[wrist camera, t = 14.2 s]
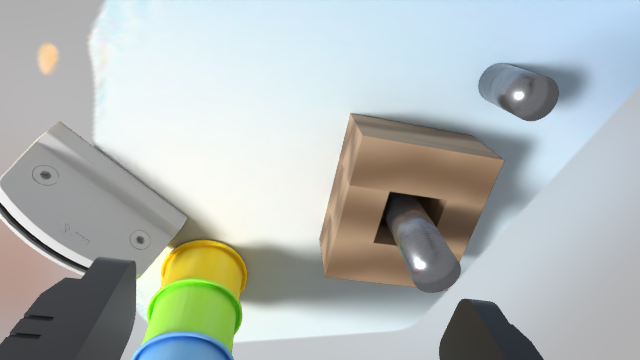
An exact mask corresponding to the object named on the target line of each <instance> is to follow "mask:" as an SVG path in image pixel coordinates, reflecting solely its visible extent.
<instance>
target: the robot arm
mask: <svg viewBox="0 0 640 360" xmlns="http://www.w3.org/2000/svg"><path fill="white" fill-rule="evenodd" d="M135 312H136V262H135V261H134V260H125V259H116V258H107V257H97V258H96V259H95V260H94V261H93V263H92V264H91V266H90V267H89V268H88V270H87V271H86V273H85V274H84V276H83V277H82V279H75V278H64V279H63V280H61V281H60V282H58V283H57V284H55V285H54V286H52V287H51V288H49V289H48V290H46V291H45V292H43V293H42V294H41V295H40V296H39V297H38V298H37V299H36V301H35V302H34V303H33V305H32V306H31V307H30V308H29V310H28V311H27V312H26V313H25V315H24V318H23V319H21V320H20V321H19V322H18V323H17V324H16V326H15V327H14V328H13V329H12V331H11V332H10V336H9V337H6V338H5V339H4V341H3V342H2V343H1V344H0V360H120V358H121V356H122V354H123V351H124V349H125V347H126V345H127V343H128V340H129V338H130V335H131V332H132V329H133V325H134V320H135ZM439 356H440V360H544V359H543V358H542V356H541V355H540V354H539V352H538V351H537V349H536V348H535V346H534V345H533V344H532V342H531V341H530V340H529V339H528V338H527V337H526V336H524V335H523V334H522V333H521V332H520V331H519V330H518V329H517V328H516V327H515V326H514V325H511V324H510V323H509V322H508V320H507V319H506V318H505V316H504V315H503V313H502V312H501V310H500V309H499V307H498V306H497V305H496V304H495V303H493V302H490V301H481V300H472V299H462V300H461V301H460V302H459V303H458V305H457V307H456V309H455V311H454V314H453V316H452V318H451V320H450V322H449V324H448V326H447V328H446V330H445V333H444V335H443V337H442V339H441V342H440V347H439Z"/></svg>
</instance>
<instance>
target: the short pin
mask: <svg viewBox="0 0 640 360" xmlns="http://www.w3.org/2000/svg"><path fill="white" fill-rule="evenodd" d="M479 92H480V94H481V96H482V97H483V98H484V99H485V100H487V101H489V102H491V103H493V104H495V105H496V106H498V107H500V108H502V109H504V110H506V111H508V112H510V113H512V114H513V115H515V116H517V117H519V118H521V119H523V120H526V121H536V120H539V119H541V118H543V117H545V116H546V115H547V114H549V113H550V112H551V111H552V109H553V108H554V106H555V105H556V103H557V100H558V96H559V90H558V86H557V84H556V82H555V81H554V80H553V79H551V78H549V77H546V76H543V75H540V74H537V73H533V72H530V71H527V70H524V69H521V68H518V67H515V66H512V65H508V64H505V63H497V64H494V65H492V66H490V67H489V68H488V69H486V70H485V71H484V73H483V74H482V76H481V78H480V80H479Z"/></svg>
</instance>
